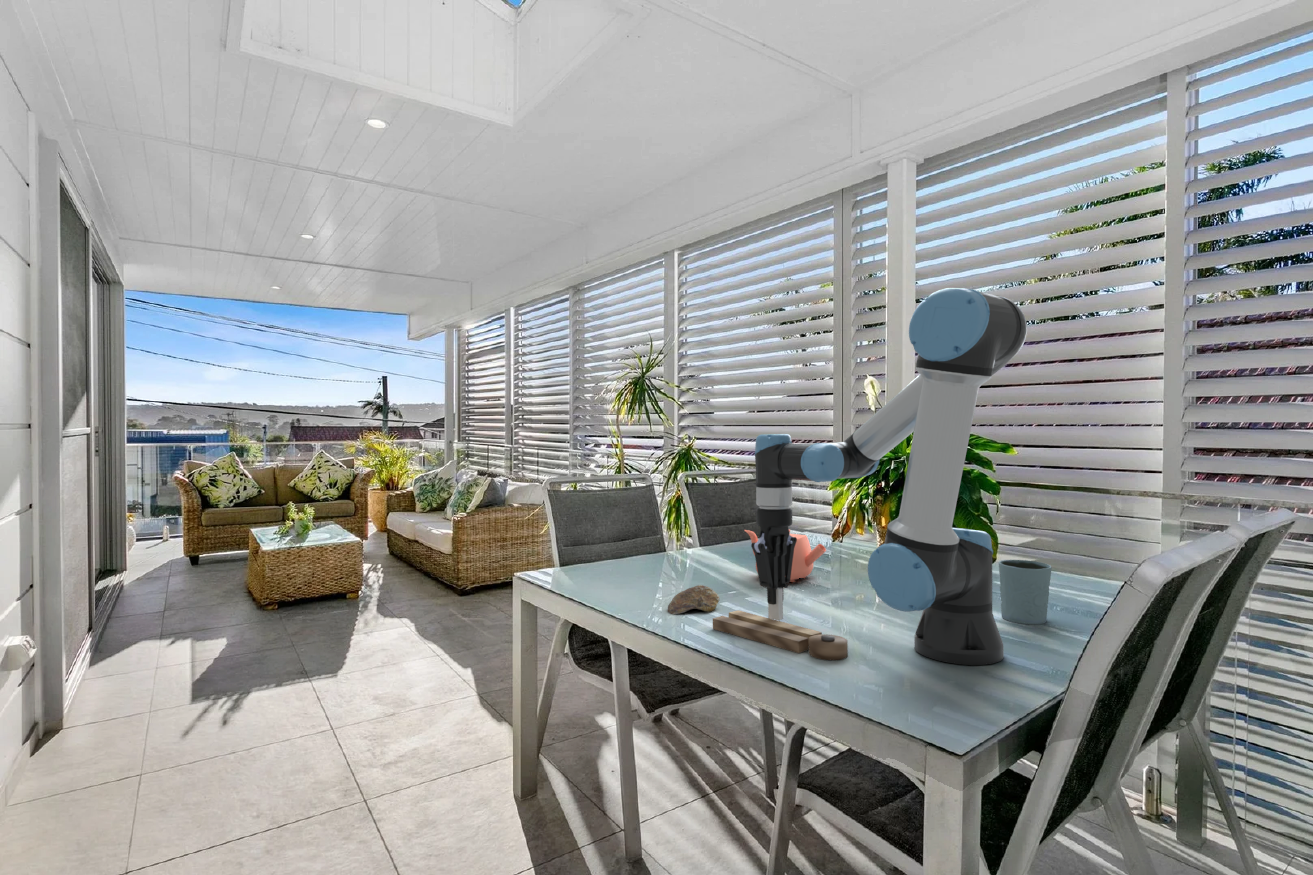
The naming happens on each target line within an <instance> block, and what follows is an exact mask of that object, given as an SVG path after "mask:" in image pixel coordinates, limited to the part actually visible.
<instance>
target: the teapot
mask: <svg viewBox="0 0 1313 875" xmlns="http://www.w3.org/2000/svg"><path fill="white" fill-rule="evenodd" d="M788 529H789V528H788ZM744 532H745V533H747V535H748V536H749V538H750V541H751V544H752V543H753V542H754V543H756V542H757V541H758V540H759V537H758V536H757V534H756V533H755V531H752V530H749V529H748V530H747V529H744ZM789 532H790V534H789V535H790V536H792V537H796V538H797V542H796V544H795V547H794V554H793V562H792V570H791V578H790V582H795V583H796V580H800V579H799V578H804V579H806V577H808V576H810V574H811V573H812V571H813V569H814V562H816V561H817V560H818V559H819V558H820V557H821V556H823V555H824V554H825V552H827V548H826V547H825V546H824V545H823V544H821V543H818V544H817V545H816V546H815V547H814V548H813V549H812V548H811V544H810V541H809V538H808V536H807V535H806V534H796V533H791V529H789ZM752 552H753V555H754V556H755V553H754V551H753V550H752ZM755 570H756V572H757V574H758V570H757V564H756V563H755ZM785 577H786V576H785Z"/></svg>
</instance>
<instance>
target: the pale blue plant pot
mask: <svg viewBox="0 0 1313 875" xmlns="http://www.w3.org/2000/svg"><path fill="white" fill-rule="evenodd" d="M998 570H999V572H998V573H999V584H1000V586H999V591H1000V593H999V594H1000V595H999V596H1000V601H1001V603H1000V611H1001V618H1002V619H1004V620H1006V621H1008V622H1011V623H1015V624H1016V623H1017V624H1021V625H1022V624H1023V625H1041V624H1045V623H1046V622H1047V617H1048V607H1049V605H1048V604H1049V597H1050V584H1051V576H1052V566H1051V564H1048V563H1045V562H1040V561H1036V560H1035V561H1034V560H1026V559H1025V560H1024V559H1003V560H999V561H998Z"/></svg>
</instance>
